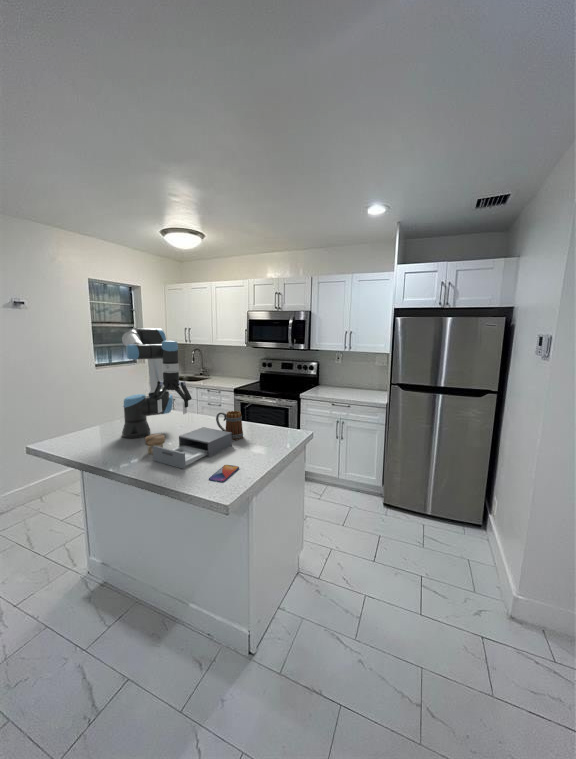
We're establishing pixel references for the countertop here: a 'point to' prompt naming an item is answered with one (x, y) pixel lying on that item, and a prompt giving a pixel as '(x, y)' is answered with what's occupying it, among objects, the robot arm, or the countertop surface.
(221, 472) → the smartphone
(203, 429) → the grey drawer box
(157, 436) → the tan flat lump
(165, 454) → the gray drawer
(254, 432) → the countertop surface
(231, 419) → the mug
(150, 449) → the block
